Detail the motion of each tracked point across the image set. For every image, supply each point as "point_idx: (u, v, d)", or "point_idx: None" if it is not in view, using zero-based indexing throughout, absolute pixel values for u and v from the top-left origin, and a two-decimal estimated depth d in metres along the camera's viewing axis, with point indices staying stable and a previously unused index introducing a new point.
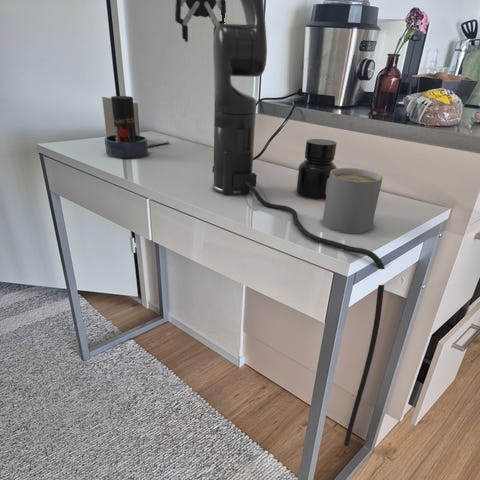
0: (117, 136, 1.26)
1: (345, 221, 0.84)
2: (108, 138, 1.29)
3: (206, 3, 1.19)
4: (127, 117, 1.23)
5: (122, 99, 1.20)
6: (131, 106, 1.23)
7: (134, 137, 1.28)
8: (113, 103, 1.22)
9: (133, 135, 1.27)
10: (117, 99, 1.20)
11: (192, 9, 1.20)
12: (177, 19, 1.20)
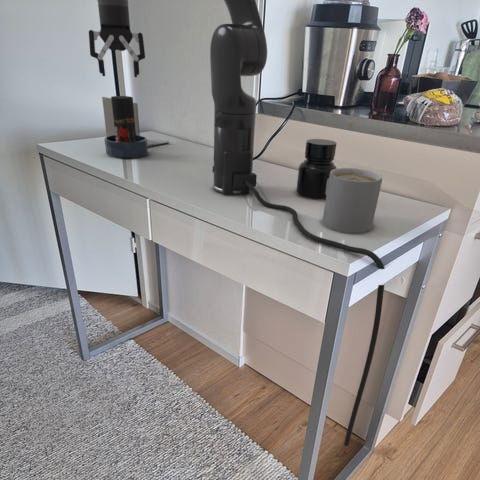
0: (117, 136, 1.26)
1: (345, 221, 0.84)
2: (108, 138, 1.29)
3: (121, 37, 1.13)
4: (127, 117, 1.23)
5: (122, 99, 1.20)
6: (131, 106, 1.23)
7: (134, 137, 1.28)
8: (113, 103, 1.22)
9: (133, 135, 1.27)
10: (117, 99, 1.20)
11: (106, 43, 1.14)
12: (91, 53, 1.14)
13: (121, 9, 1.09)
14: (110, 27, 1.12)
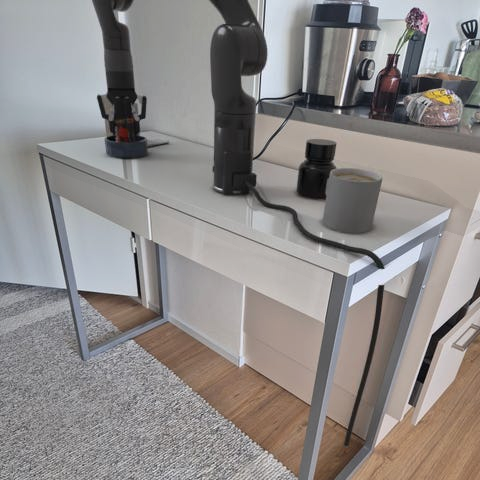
0: (117, 136, 1.26)
1: (345, 221, 0.84)
2: (108, 138, 1.29)
3: None
4: (127, 117, 1.23)
5: (122, 99, 1.20)
6: (131, 106, 1.23)
7: (134, 137, 1.28)
8: (113, 103, 1.22)
9: (133, 135, 1.27)
10: (117, 99, 1.20)
11: (113, 104, 1.22)
12: (102, 116, 1.23)
13: (127, 74, 1.17)
14: (116, 90, 1.20)
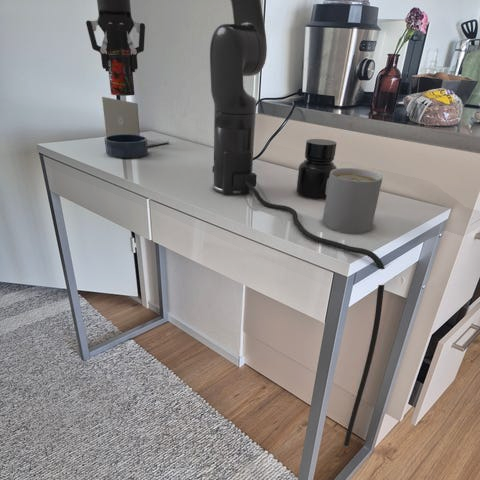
0: (111, 73, 1.07)
1: (345, 221, 0.84)
2: (108, 138, 1.29)
3: None
4: (122, 48, 1.05)
5: (116, 25, 1.02)
6: None
7: (131, 74, 1.09)
8: (105, 30, 1.03)
9: (129, 71, 1.08)
10: (110, 25, 1.02)
11: (105, 32, 1.03)
12: (93, 47, 1.04)
13: None
14: (109, 14, 1.02)
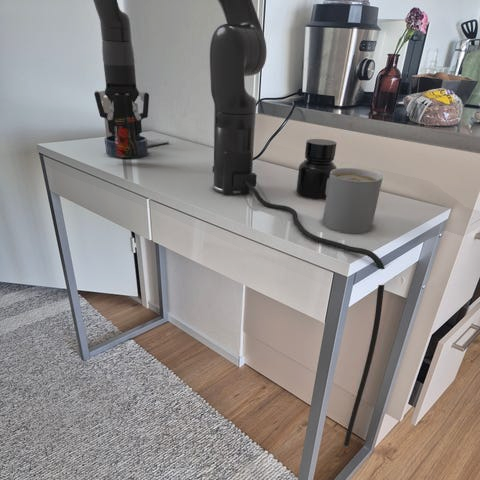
0: (117, 137, 1.15)
1: (345, 221, 0.84)
2: (108, 138, 1.29)
3: None
4: (127, 116, 1.12)
5: (122, 96, 1.10)
6: None
7: (135, 138, 1.17)
8: (112, 100, 1.11)
9: (134, 135, 1.16)
10: (117, 96, 1.09)
11: None
12: (101, 114, 1.12)
13: (127, 69, 1.06)
14: (116, 86, 1.09)
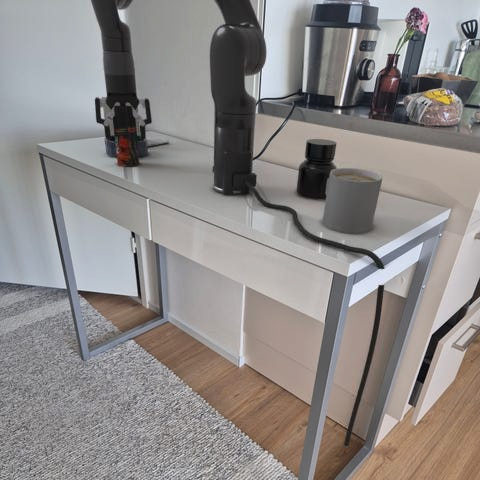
0: (118, 147, 1.17)
1: (345, 221, 0.84)
2: None
3: (127, 104, 1.12)
4: (128, 126, 1.14)
5: (123, 107, 1.11)
6: None
7: (136, 147, 1.18)
8: None
9: (135, 145, 1.17)
10: (118, 107, 1.11)
11: (113, 110, 1.12)
12: (97, 120, 1.13)
13: (128, 78, 1.07)
14: (116, 95, 1.10)
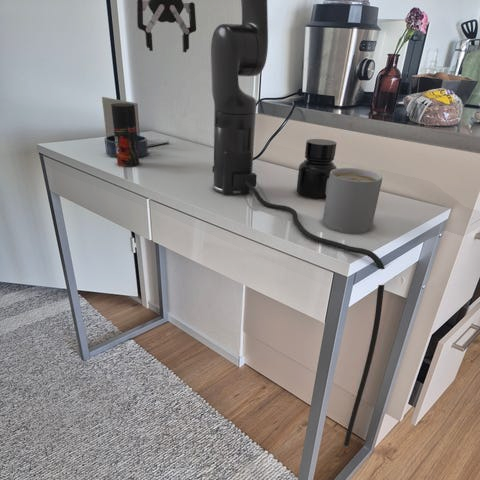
0: (118, 147, 1.17)
1: (345, 221, 0.84)
2: (108, 138, 1.29)
3: (172, 7, 1.04)
4: (128, 126, 1.14)
5: (123, 107, 1.11)
6: (133, 114, 1.13)
7: (136, 147, 1.18)
8: (113, 111, 1.12)
9: (135, 145, 1.17)
10: (118, 107, 1.11)
11: (156, 14, 1.04)
12: (139, 25, 1.05)
13: None
14: None
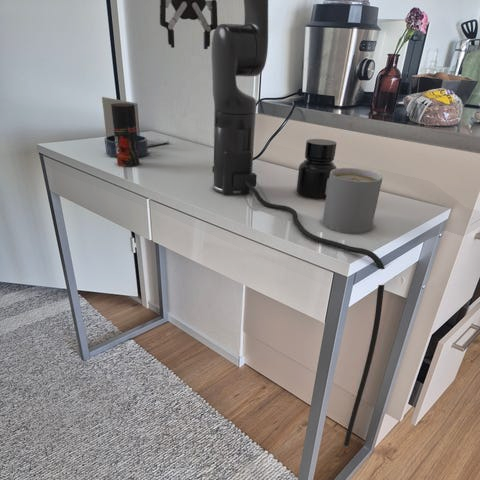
0: (118, 147, 1.17)
1: (345, 221, 0.84)
2: (108, 138, 1.29)
3: (194, 4, 1.05)
4: (128, 126, 1.14)
5: (123, 107, 1.11)
6: (133, 114, 1.13)
7: (136, 147, 1.18)
8: (113, 111, 1.12)
9: (135, 145, 1.17)
10: (118, 107, 1.11)
11: (179, 11, 1.05)
12: (162, 22, 1.06)
13: None
14: None
